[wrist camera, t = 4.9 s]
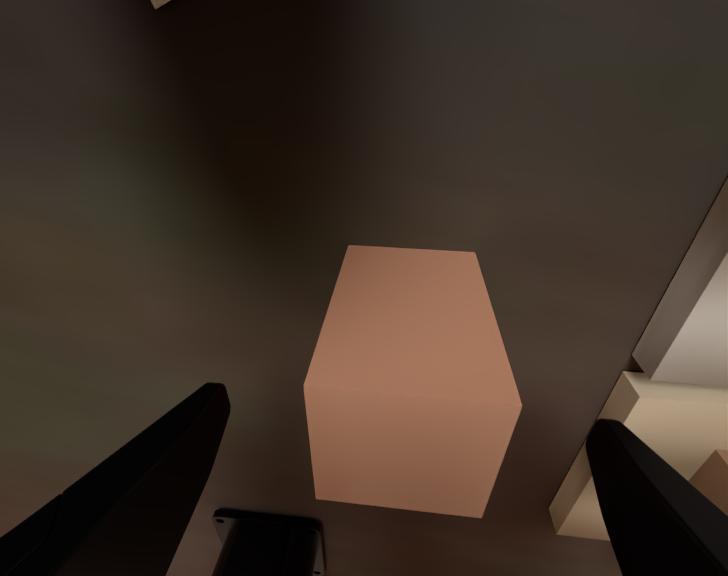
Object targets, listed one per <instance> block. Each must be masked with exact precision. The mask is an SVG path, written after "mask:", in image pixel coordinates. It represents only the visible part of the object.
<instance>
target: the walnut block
mask: <svg viewBox="0 0 728 576" xmlns="http://www.w3.org/2000/svg"><path fill="white" fill-rule="evenodd" d="M689 482H690V483H691V484H692V485H693V486H694V487H696V488H697V489H698V490H699V491H700V492H701V493H702V494H704V495H705V496H706V497H707V498H708V499H709V500H710V501H712V502H713V503H714V504H715V505H716V506H717V507H718V508H720V509H721V510H722V511H723V512H724V513H725V514H726V515H728V450H717V449H716V450H715V451H714V452H713V453H712V454H711V455H710V457H709V458H708V459H707V460H706V461H705V462H704V463H703V465H702V466H701V467H700V468H699V469H698V470H697V472H696V473H695V474H694V475H693V476H692V477H691V478H690V480H689Z"/></svg>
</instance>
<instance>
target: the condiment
mask: <svg viewBox="0 0 728 576" xmlns="http://www.w3.org/2000/svg"><path fill="white" fill-rule="evenodd" d="M150 1H151V2H152V4H153V6H154V8H155V9H157V8H159V7H160V6H162V5H164V4H165V3H167V2H169V1H170V0H150Z"/></svg>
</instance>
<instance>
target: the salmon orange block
mask: <svg viewBox="0 0 728 576" xmlns="http://www.w3.org/2000/svg"><path fill="white" fill-rule="evenodd" d="M304 396H305V405H306V414H307V423H308V432H309V441H310V450H311V459H312V468H313V477H314V486H315V496H316V499H320V500H329V501H337V502H346V503H355V504H363V505H372V506H380V507H389V508H397V509H406V510H415V511H423V512H432V513H440V514H449V515H457V516H466V517H474V518H482V516H483V513H484V510H485V507H486V505H487V502H488V499H489V496H490V494H491V491H492V488H493V485H494V483H495V480H496V477H497V474H498V472H499V469H500V466H501V463H502V461H503V458H504V455H505V452H506V450H507V447H508V444H509V441H510V439H511V436H512V433H513V430H514V428H515V425H516V422H517V419H518V416H519V414H520V411H521V408H522V403H521V400H520V397H519V393H518V390H517V387H516V384H515V380H514V377H513V374H512V371H511V367H510V364H509V361H508V358H507V354H506V351H505V348H504V345H503V341H502V338H501V335H500V332H499V328H498V325H497V322H496V319H495V315H494V312H493V309H492V306H491V302H490V299H489V296H488V293H487V289H486V286H485V283H484V280H483V276H482V273H481V270H480V267H479V264H478V260H477V257H476V254H475V252H460V251H443V250H426V249H409V248H392V247H375V246H358V245H348V248H347V251H346V254H345V257H344V260H343V264H342V267H341V270H340V273H339V276H338V279H337V282H336V285H335V289H334V292H333V295H332V298H331V301H330V304H329V307H328V311H327V314H326V317H325V320H324V323H323V326H322V329H321V332H320V336H319V339H318V342H317V345H316V348H315V351H314V354H313V358H312V361H311V364H310V367H309V370H308V373H307V376H306V379H305V383H304Z"/></svg>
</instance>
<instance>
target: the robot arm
mask: <svg viewBox="0 0 728 576" xmlns="http://www.w3.org/2000/svg"><path fill="white" fill-rule="evenodd" d="M229 414H230V402H229V398H228V394H227V391H226V387H225V385H224V384H222V383H212V382H209V383H206V384H204V385H203V386H202V387H200V388H199V389H198V390H196V391H195V392H194V393H192V394H191V395H190V396H189V397H187V398H186V399H185V400H183V401H182V402H181V403H179V404H178V405H177V406H175V407H174V408H173V409H171V410H170V411H169V412H167V413H166V414H165V415H163V416H162V417H161V418H159V419H158V420H157V421H156V422H154V423H153V424H152V425H150V426H149V427H148V428H146V429H145V430H144V431H142V432H141V433H140V434H138V435H137V436H136V437H134V438H133V439H132V440H130V441H129V442H128V443H126V444H125V445H124V446H123V447H121V448H120V449H119V450H117V451H116V452H115V453H113V454H112V455H111V456H109V457H108V458H107V459H105V460H104V461H103V462H101V463H100V464H99V465H97V466H96V467H95V468H93V469H92V470H91V471H90V472H88V473H87V474H86V475H84V476H83V477H82V478H80V479H79V480H78V481H76V482H75V483H74V484H72V485H71V486H70V487H68V488H67V489H66V490H64V492H63V494H59V495H58V496H56V497H55V498H54V499H52V500H51V501H50V502H48V503H47V504H46V505H44V506H43V507H42V508H41V509H39V510H38V511H36V512H35V513H34V514H32V515H31V516H30V517H28V518H27V519H26V520H24V521H23V522H21V523H20V524H19V525H17V526H16V527H15V528H13V529H12V530H11V531H9V532H8V533H6V534H5V535H3V536H2V537H0V576H165V575H166V573H167V571H168V569H169V566H170V564H171V562H172V560H173V557H174V555H175V553H176V551H177V548H178V546H179V544H180V541H181V539H182V537H183V535H184V532H185V530H186V528H187V526H188V523H189V521H190V519H191V516H192V514H193V512H194V510H195V507H196V505H197V503H198V501H199V498H200V496H201V494H202V492H203V489H204V487H205V485H206V482H207V480H208V478H209V475H210V473H211V470H212V467H213V464H214V461H215V458H216V455H217V452H218V449H219V446H220V443H221V439H222V436H223V433H224V430H225V427H226V424H227V421H228V418H229ZM585 447H586V453H587V457H588V461H589V465H590V469H591V473H592V478H593V482H594V486H595V490H596V494H597V498H598V502H599V507H600V510H601V514H602V518H603V521H604V524H605V527H606V530H607V533H608V535H609V538H610V541H611V544H612V547H613V550H614V552H615V555H616V558H617V561H618V564H619V567H620V569H621V572H622V575H623V576H728V515H726V514H725V513H724V512H723V511H722V510H721V509H720V508H718V507H717V506H716V505H715V504H714V503H713V502H712V501H710V500H709V499H708V498H707V497H706V496H705V495H704V494H702V493H701V492H700V491H699V490H698V489H697V488H696V487H694V486H693V485H692V484H691V483H690V482H689V481H688V480H687V479H685V478H684V477H683V476H682V475H681V474H680V473H679V472H677V471H676V470H675V469H674V468H673V467H672V466H671V465H669V464H668V463H667V462H666V461H665V460H664V459H663V458H661V457H660V456H659V455H658V454H657V453H656V452H655V451H653V450H652V449H651V448H650V447H649V446H648V445H647V444H645V443H644V442H643V441H642V440H641V439H640V438H639V437H637V436H636V435H635V434H634V433H633V432H632V431H631V430H629V429H628V428H627V427H626V426H625V425H624V424H623V423H621V422H620V421H618V420H614V419H604V418H600V419H598V420H597V421H596V422H595V424H594V426H593V428H592V429H591V431H590V433H589V435H588V437H587V439H586V444H585ZM212 521H213V523H214V526H215V528H216V531H217V533H218V535H219V538H220V540H221V543H222V545H223V547H222V550H221V553H220V555H219V558H218V561H217V563H216V566H215V569H214V571H213V574H212V576H313V575H314V576H323V575H324V574H325V568H326V564H325V554H324V544H323V535H322V526H321V524H320V523H318V522H316V521H311V520H303V519H294V518H286V517H278V516H270V515H262V514H253V513H245V512H237V511H229V510H216V511H215V513H214V515H213V517H212Z"/></svg>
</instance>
